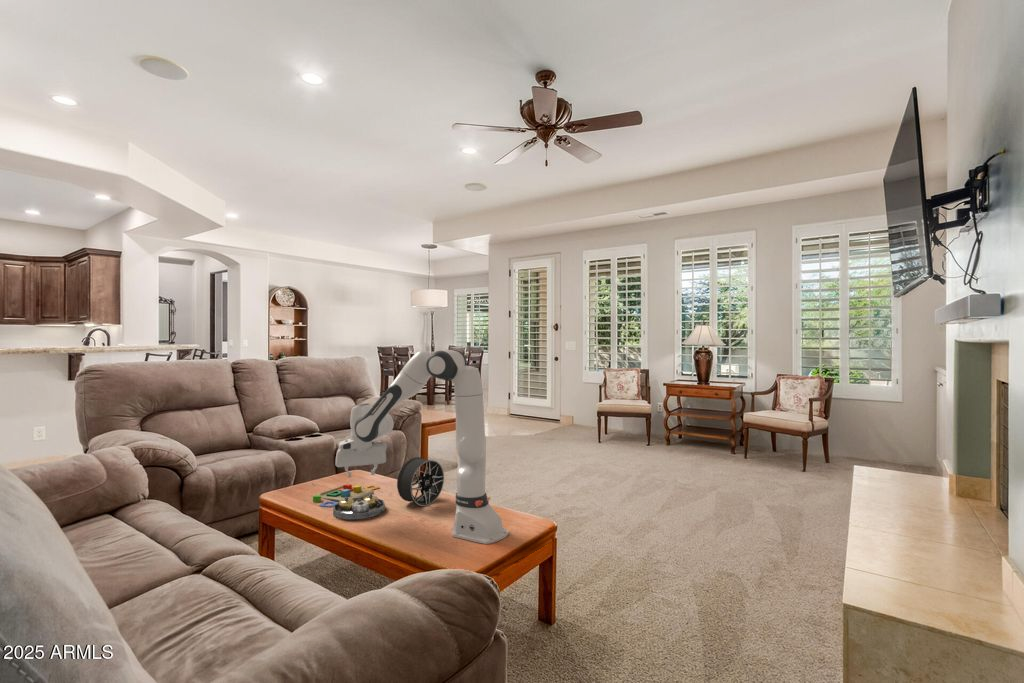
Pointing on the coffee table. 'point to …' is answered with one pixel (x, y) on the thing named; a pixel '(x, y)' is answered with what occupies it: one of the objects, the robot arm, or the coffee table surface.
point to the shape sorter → (344, 493)
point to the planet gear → (360, 507)
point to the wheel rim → (420, 481)
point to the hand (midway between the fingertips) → (361, 475)
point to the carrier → (345, 505)
